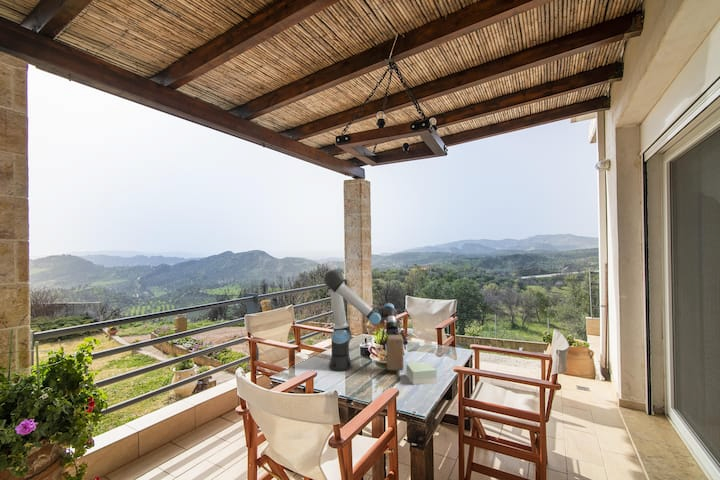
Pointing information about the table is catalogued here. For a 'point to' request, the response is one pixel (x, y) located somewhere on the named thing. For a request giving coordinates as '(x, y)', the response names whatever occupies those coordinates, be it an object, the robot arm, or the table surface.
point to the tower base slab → (421, 380)
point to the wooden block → (394, 352)
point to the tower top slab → (421, 370)
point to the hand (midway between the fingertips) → (395, 354)
